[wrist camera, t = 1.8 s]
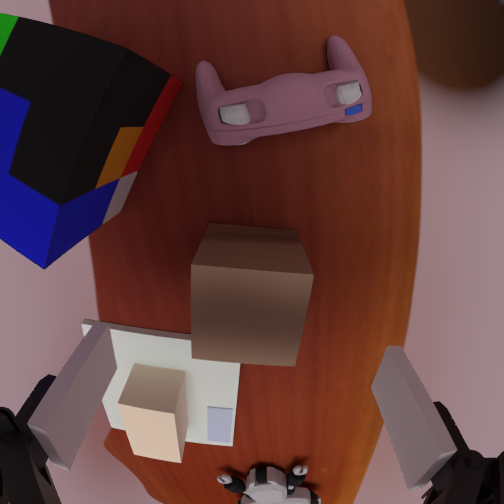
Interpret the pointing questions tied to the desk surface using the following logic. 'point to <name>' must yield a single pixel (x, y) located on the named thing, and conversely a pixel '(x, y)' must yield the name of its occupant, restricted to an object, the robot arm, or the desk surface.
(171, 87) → the puzzle toy
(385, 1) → the desk surface
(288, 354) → the walnut block
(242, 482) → the robot toy
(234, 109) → the video game controller
